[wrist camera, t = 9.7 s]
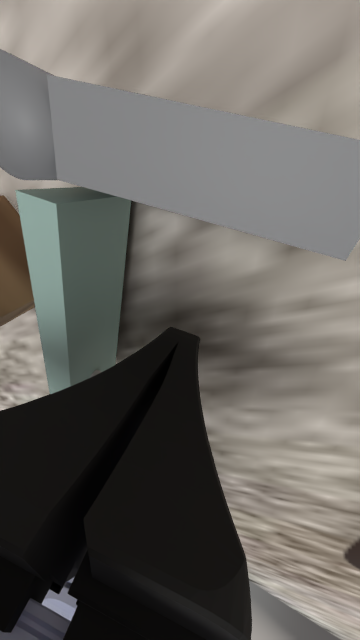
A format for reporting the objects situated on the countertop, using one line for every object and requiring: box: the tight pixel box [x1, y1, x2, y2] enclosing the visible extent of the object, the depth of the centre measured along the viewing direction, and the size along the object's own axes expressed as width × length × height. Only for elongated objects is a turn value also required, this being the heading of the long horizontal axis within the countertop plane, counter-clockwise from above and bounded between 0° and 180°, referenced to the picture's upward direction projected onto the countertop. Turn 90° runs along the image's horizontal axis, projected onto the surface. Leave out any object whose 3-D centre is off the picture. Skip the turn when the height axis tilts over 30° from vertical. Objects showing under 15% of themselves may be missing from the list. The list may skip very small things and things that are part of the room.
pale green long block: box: [16, 187, 131, 394], centre depth 10 cm, size 10×3×4 cm, turn 166°
